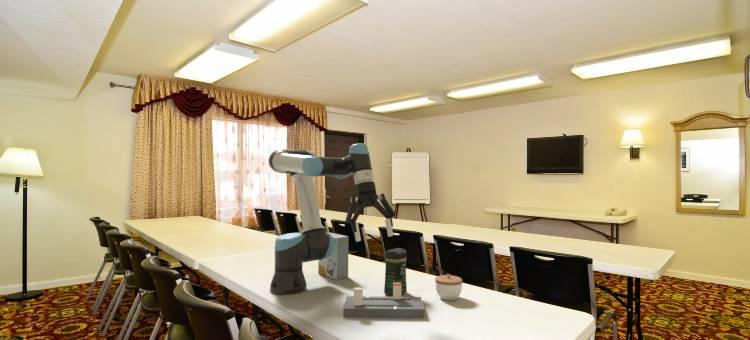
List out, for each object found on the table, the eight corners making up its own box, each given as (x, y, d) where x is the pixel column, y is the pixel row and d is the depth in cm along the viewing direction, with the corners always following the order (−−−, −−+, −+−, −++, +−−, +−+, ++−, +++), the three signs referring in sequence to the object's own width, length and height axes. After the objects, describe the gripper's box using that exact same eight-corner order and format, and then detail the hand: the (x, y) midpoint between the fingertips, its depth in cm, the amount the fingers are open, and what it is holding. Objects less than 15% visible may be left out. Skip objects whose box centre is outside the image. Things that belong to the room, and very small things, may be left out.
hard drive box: (317, 273, 182) (317, 233, 183) (330, 271, 188) (330, 232, 188) (336, 280, 171) (336, 237, 171) (349, 277, 176) (349, 235, 177)
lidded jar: (429, 298, 146) (429, 274, 146) (444, 292, 154) (444, 269, 154) (453, 304, 138) (453, 279, 139) (467, 297, 146) (467, 274, 146)
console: (342, 317, 125) (342, 308, 125) (346, 303, 139) (347, 295, 139) (424, 318, 125) (424, 309, 125) (420, 304, 138) (420, 296, 138)
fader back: (393, 299, 134) (393, 284, 134) (393, 297, 136) (393, 282, 136) (401, 299, 134) (401, 284, 134) (401, 297, 136) (401, 282, 136)
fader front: (353, 305, 127) (353, 289, 127) (354, 303, 130) (354, 287, 130) (362, 305, 127) (362, 289, 127) (362, 303, 130) (362, 287, 130)
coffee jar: (397, 298, 145) (398, 251, 146) (381, 294, 150) (381, 249, 150) (409, 292, 153) (409, 247, 154) (393, 288, 158) (393, 245, 158)
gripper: (338, 182, 130) (348, 242, 125) (397, 178, 142) (408, 232, 137) (330, 188, 136) (340, 244, 131) (387, 183, 148) (398, 235, 143)
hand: (375, 238), depth 134 cm, fingers open, 13 cm apart
